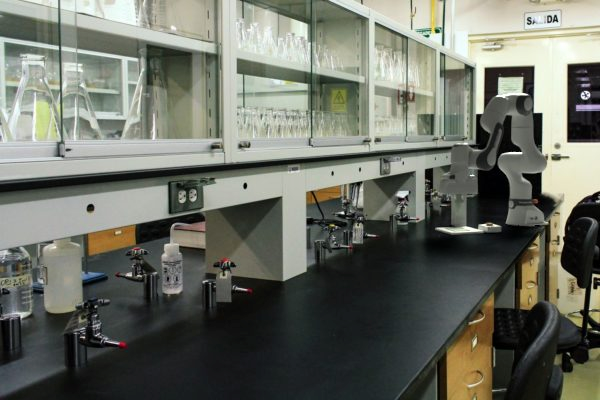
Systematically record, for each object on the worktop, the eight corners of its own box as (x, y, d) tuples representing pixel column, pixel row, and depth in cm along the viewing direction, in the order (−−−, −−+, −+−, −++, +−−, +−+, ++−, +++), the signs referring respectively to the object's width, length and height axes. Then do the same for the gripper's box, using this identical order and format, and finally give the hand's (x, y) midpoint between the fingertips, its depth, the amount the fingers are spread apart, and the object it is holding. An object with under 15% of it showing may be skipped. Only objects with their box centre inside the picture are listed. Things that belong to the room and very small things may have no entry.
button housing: (491, 229, 317) (491, 223, 316) (501, 232, 309) (501, 226, 309) (478, 230, 314) (478, 224, 314) (487, 232, 307) (487, 226, 306)
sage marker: (459, 211, 312) (459, 190, 310) (462, 212, 308) (463, 190, 307) (453, 211, 310) (454, 190, 309) (456, 212, 307) (457, 190, 306)
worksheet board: (465, 228, 321) (466, 226, 321) (483, 233, 306) (484, 230, 306) (435, 229, 316) (435, 227, 316) (452, 234, 301) (452, 232, 301)
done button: (490, 227, 314) (490, 222, 313) (494, 228, 311) (494, 223, 310) (485, 228, 313) (485, 223, 312) (488, 228, 310) (489, 224, 309)
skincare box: (466, 227, 326) (467, 197, 324) (453, 226, 326) (454, 197, 324) (462, 224, 334) (463, 196, 333) (450, 224, 334) (451, 196, 333)
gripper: (473, 174, 314) (472, 201, 315) (438, 175, 307) (437, 202, 309) (480, 175, 308) (479, 203, 309) (444, 176, 302) (443, 204, 303)
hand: (458, 203), depth 309 cm, fingers closed on sage marker, 3 cm apart
